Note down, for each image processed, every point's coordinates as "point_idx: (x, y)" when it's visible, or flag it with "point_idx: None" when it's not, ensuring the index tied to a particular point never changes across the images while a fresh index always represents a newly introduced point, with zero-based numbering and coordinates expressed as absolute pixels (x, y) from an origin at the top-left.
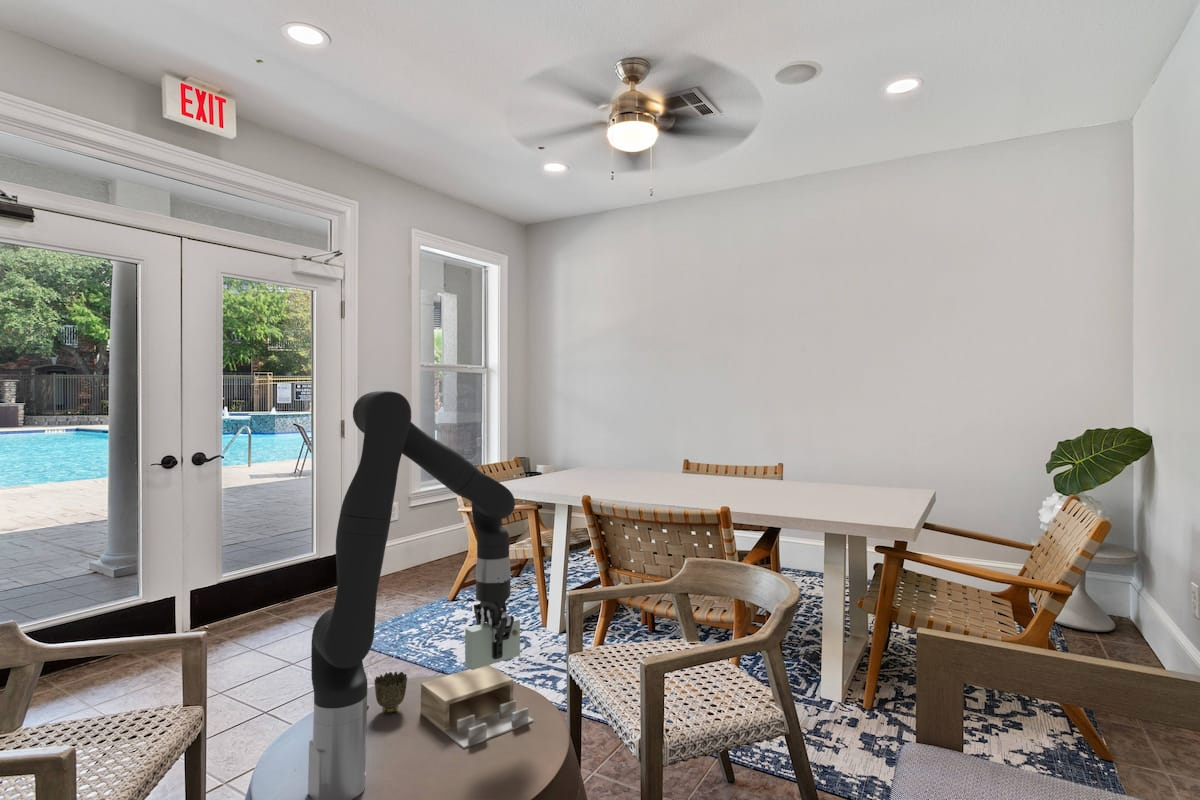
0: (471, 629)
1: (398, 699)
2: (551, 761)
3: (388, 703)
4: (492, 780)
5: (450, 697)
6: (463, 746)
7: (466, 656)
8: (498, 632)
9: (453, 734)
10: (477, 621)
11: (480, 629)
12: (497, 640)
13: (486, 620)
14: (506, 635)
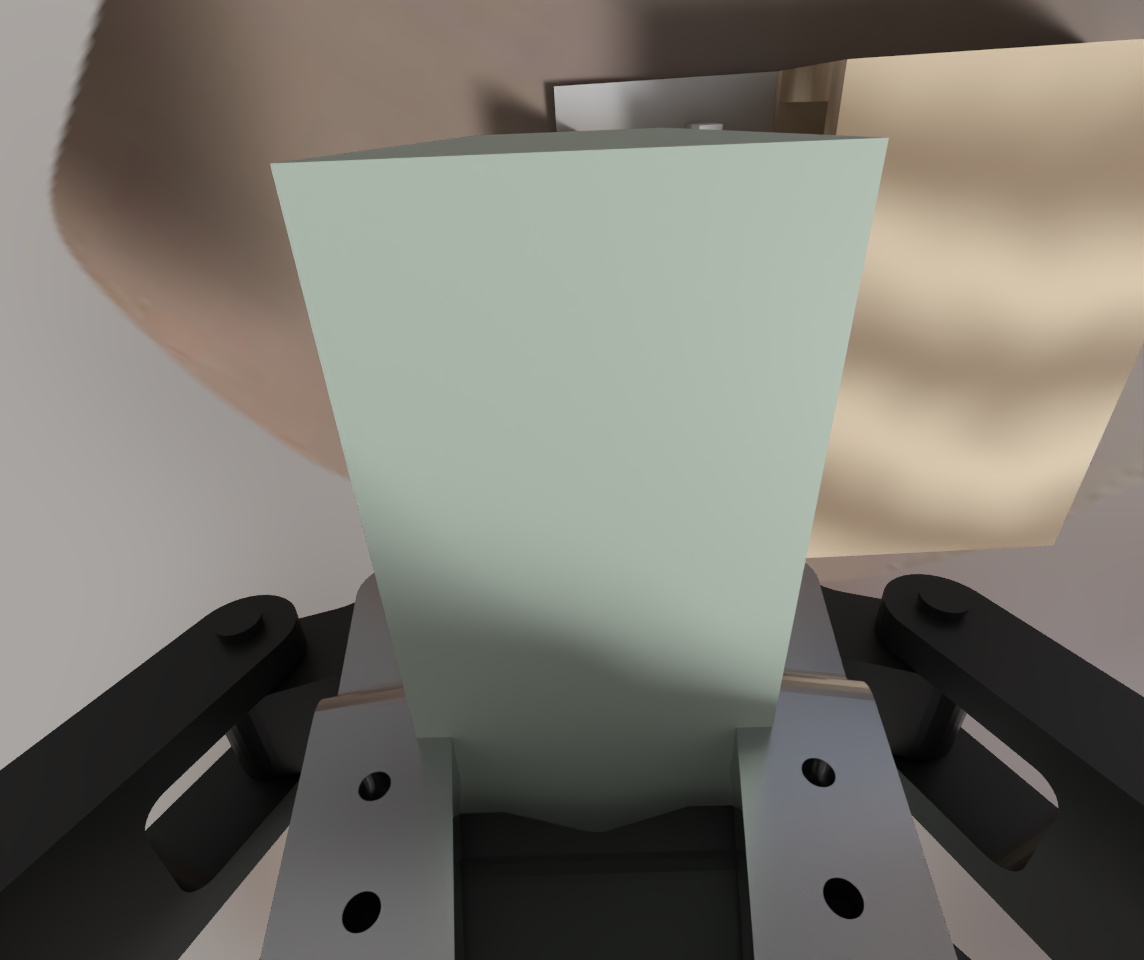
0: (589, 297)
1: None
2: (246, 382)
3: None
4: (188, 65)
5: (866, 126)
6: (558, 86)
7: (640, 130)
8: (149, 738)
9: (712, 101)
10: (1106, 711)
11: (406, 527)
12: (273, 607)
13: (728, 858)
14: (245, 764)
